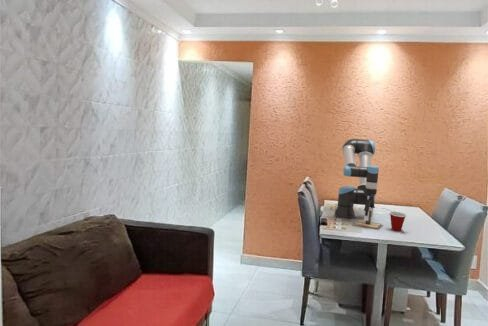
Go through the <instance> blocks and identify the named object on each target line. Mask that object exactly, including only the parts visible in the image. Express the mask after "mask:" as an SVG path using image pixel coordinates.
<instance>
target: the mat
mask: <svg viewBox="0 0 488 326" xmlns="http://www.w3.org/2000/svg"><path fill="white" fill-rule="evenodd" d="M358 221H359V220H357V221H356V222H358ZM356 222H354V223H353V224H351V226H352V227H353V226H354V227H356V226H355V225H354V224H355V223H356ZM357 227H358V228H365V229H370V230H377V231H379V230H380V229H381V228H382V227H384V224H381V226H380V227H378V228H377V229H373V228H367V227H361V226H357Z"/></svg>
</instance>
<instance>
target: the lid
mask: <svg viewBox="0 0 488 326" xmlns="http://www.w3.org/2000/svg"><path fill="white" fill-rule="evenodd" d="M371 220H372V217H371V211H369V218H368V221H367V220H362V219H361V220H360V219H359V220H357V221H358V222H357V221H356V222H354V223H355V224H354V223H353V224H354V225H355V226H354V227H358V226H361V227H360V228H363V227H367V228H366V229H369V228H373V229H372V230H375V229H377V228H378V227H380V226H381V225H382V223H378V222H373V221H371Z"/></svg>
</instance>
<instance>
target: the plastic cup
mask: <svg viewBox="0 0 488 326" xmlns="http://www.w3.org/2000/svg"><path fill="white" fill-rule="evenodd" d="M389 216H390V226H391V227H390V228H391V230H392V231H395V232H401V231H402V229H403V226H404V222H405V220H406V217H407V214H406V213H403V212H400V211H389Z"/></svg>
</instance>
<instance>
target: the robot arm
mask: <svg viewBox="0 0 488 326" xmlns="http://www.w3.org/2000/svg"><path fill="white" fill-rule="evenodd" d="M341 151H342V154H343V156H344V164H345V165H344V166H343V170H342V174H343V176H344V177H349V178H350V177H353V178H359V179H358V181H359V183H358V184H359V185H357V188H356V186H354V185H353V186H352V185H347V186H346V185H343V186H340V187H339V188H338V193H337V195H338V197H337V207H336V209H335V210H334V214H333V215H334V217H335V216H336V217H335V218H337V217H339V218H338V219H344V220H346V219H348V220H353V219H355V218H356V214H355V213H356V212H355V209H354V205H360V206H364V208H363V212H364V216H363V217H364V218H363V221H366V220H367V221H368V218H369V211H371V218H373V217H374V216H373V215H374V209H375V208H376V207H375V200H376V195H377V191H378V190H377V189H378V179H379V166H378V165H372V158H373V156H374V155H375V153H376V145H375V141H374V140H372V139H358V138H352V139H351V138H350V139H348V140H346V141H345V142H344V144H343V145H342V149H341ZM356 155H357V158H358V159H359V160H358V162H359V164H358V166H357V162H356Z"/></svg>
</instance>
